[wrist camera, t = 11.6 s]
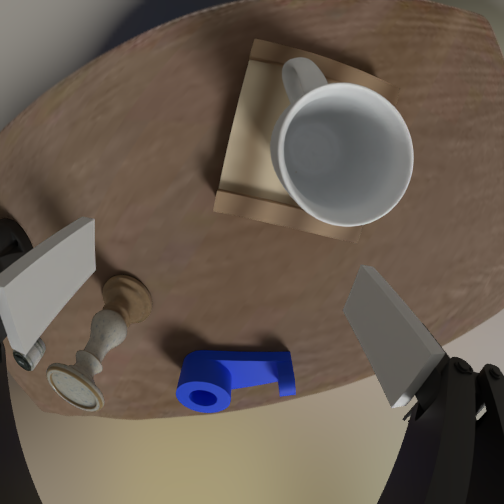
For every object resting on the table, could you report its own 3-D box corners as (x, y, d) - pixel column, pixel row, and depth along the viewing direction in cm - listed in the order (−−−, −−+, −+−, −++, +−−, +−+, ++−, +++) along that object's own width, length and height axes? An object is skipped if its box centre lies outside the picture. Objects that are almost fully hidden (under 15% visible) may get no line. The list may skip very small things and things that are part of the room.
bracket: (190, 382, 49) (184, 412, 42) (177, 349, 45) (168, 381, 38) (290, 375, 48) (295, 406, 41) (289, 341, 45) (295, 374, 38)
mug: (236, 91, 27) (229, 58, 15) (325, 64, 25) (369, 26, 13) (284, 207, 32) (306, 249, 20) (366, 177, 31) (426, 202, 19)
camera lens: (50, 354, 47) (35, 376, 40) (32, 348, 47) (18, 368, 40) (41, 334, 45) (24, 356, 38) (24, 328, 45) (7, 348, 37)
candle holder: (111, 264, 38) (39, 350, 20) (160, 290, 40) (111, 393, 22) (100, 304, 41) (42, 389, 23) (144, 328, 43) (103, 424, 24)
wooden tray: (217, 202, 35) (213, 211, 31) (253, 50, 27) (254, 38, 23) (345, 232, 37) (357, 243, 33) (383, 92, 29) (399, 88, 25)
